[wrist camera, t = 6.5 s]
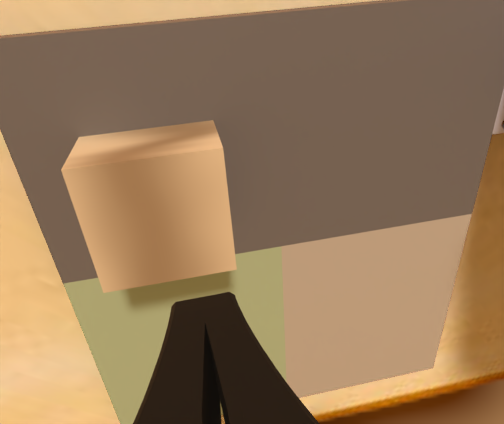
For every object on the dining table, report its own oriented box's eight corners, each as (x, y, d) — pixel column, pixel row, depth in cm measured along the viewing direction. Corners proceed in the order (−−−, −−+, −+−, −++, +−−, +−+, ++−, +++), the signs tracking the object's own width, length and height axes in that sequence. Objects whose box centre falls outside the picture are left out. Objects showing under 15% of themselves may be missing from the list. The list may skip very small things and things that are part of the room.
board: (509, -12, 16) (528, -11, 15) (424, 356, 27) (433, 368, 26) (-23, 38, 13) (-36, 41, 13) (127, 420, 25) (125, 436, 24)
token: (213, 120, 15) (223, 147, 13) (226, 228, 18) (236, 269, 15) (78, 137, 15) (60, 170, 12) (112, 247, 17) (103, 293, 15)
